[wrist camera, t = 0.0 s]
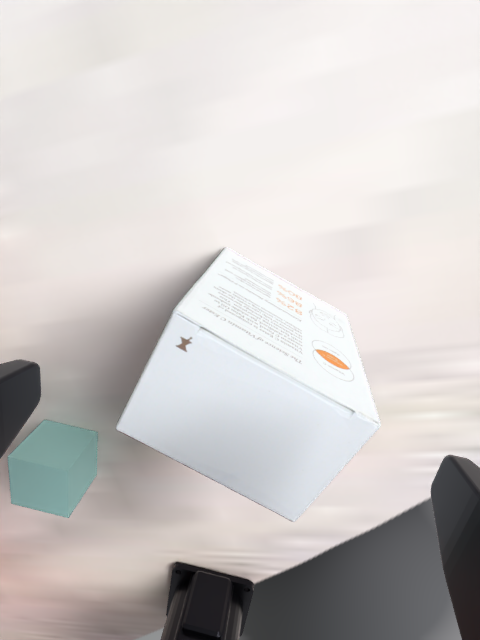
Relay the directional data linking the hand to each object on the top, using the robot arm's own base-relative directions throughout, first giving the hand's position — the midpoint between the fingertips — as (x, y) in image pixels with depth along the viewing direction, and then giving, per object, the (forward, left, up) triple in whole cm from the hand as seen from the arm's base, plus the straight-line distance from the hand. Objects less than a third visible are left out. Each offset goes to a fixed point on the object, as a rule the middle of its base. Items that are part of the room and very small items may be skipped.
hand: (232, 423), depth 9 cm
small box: (-3, 0, -15) cm, 15 cm away
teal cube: (-16, +12, -15) cm, 25 cm away
